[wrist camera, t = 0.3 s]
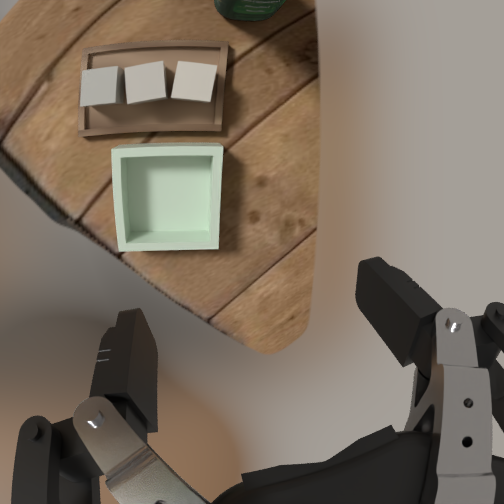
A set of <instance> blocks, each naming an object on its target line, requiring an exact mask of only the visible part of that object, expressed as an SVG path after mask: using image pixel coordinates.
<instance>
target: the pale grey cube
mask: <svg viewBox="0 0 504 504" xmlns="http://www.w3.org/2000/svg"><path fill="white" fill-rule="evenodd" d="M125 83H126V95H127V104H131V105H136V104H141V103H146V102H152V101H158V100H164V99H168V90H167V76H166V66H165V64H164V61H158V62H152V63H146V64H141V65H136V66H131V67H127V68H125Z"/></svg>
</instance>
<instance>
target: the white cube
mask: <svg viewBox="0 0 504 504" xmlns="http://www.w3.org/2000/svg"><path fill="white" fill-rule="evenodd" d="M216 70H217V65H210V64H202V63H194V62H184V61H178V64H177V69H176V74H175V79H174V84H173V89H172V95H171V98H172V99H174V100H185V101H194V102H203V103H209V102H210V100H211V95H212V90H213V85H214V80H215V75H216Z"/></svg>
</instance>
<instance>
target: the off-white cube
mask: <svg viewBox="0 0 504 504" xmlns="http://www.w3.org/2000/svg"><path fill="white" fill-rule="evenodd" d="M124 83H125V70H123V69H122V68H120V67H119V66H113V67H104V68H97V69H90V70H83V71H82V80H81V96H80V107H93V106H102V105H112V104H123V100H124Z"/></svg>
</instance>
